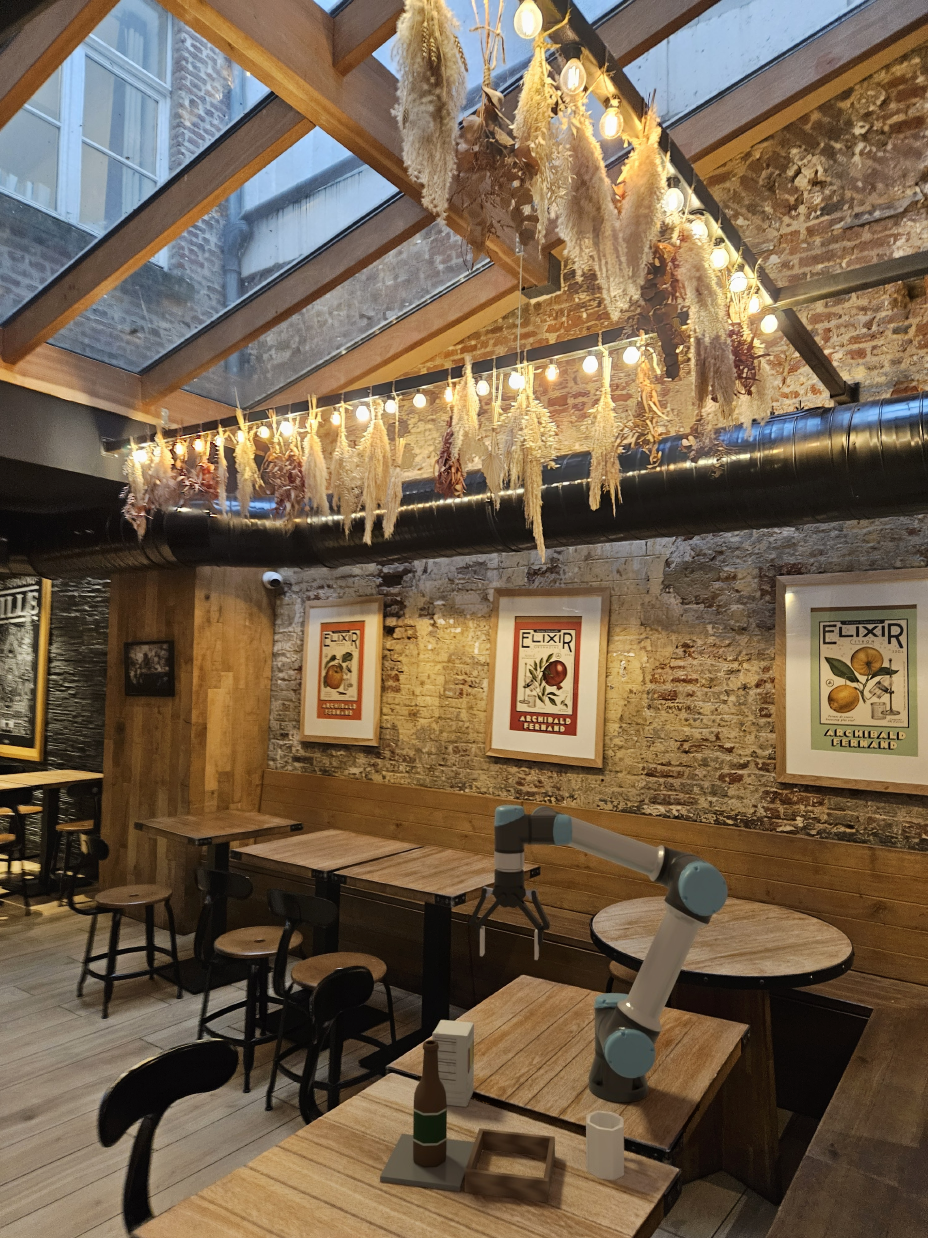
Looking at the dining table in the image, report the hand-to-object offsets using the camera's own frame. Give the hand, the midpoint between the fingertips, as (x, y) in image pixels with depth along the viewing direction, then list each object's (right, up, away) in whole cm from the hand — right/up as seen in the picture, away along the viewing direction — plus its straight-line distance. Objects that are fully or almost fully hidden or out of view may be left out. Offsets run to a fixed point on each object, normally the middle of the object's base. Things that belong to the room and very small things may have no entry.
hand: (509, 956), depth 200 cm
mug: (+20, -35, -25) cm, 47 cm away
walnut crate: (-1, -34, -29) cm, 45 cm away
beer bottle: (-19, -33, -25) cm, 46 cm away
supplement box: (-14, -37, +4) cm, 40 cm away
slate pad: (-19, -34, -25) cm, 47 cm away
